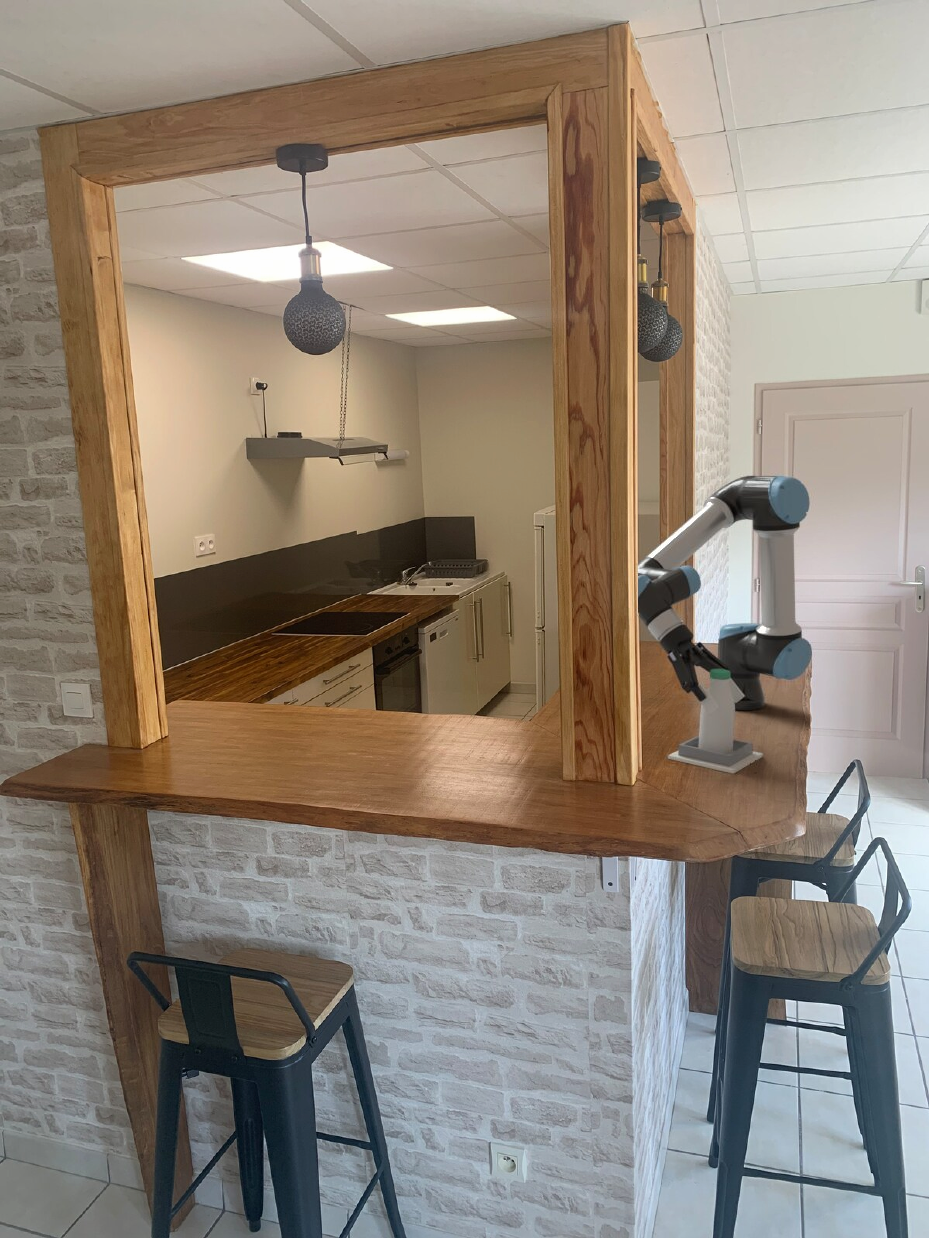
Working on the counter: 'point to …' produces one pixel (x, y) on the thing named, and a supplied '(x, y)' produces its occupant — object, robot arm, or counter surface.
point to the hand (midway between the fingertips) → (727, 705)
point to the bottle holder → (716, 756)
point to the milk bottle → (718, 715)
